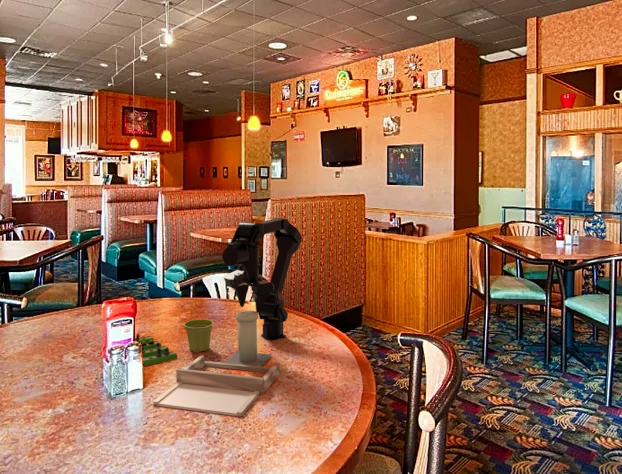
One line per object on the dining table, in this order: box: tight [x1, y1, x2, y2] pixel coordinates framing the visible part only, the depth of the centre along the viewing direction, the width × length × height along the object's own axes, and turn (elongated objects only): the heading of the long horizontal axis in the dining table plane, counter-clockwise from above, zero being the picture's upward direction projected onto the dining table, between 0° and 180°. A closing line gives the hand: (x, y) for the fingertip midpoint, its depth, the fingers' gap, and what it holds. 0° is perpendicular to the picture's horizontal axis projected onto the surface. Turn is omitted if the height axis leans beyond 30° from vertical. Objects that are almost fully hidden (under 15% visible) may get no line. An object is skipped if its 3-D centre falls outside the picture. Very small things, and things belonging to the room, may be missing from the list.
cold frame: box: [175, 355, 282, 395], centre depth 138 cm, size 15×24×4 cm, turn 76°
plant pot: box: [183, 318, 215, 353], centre depth 160 cm, size 9×9×9 cm
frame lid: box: [152, 381, 260, 418], centre depth 124 cm, size 12×23×1 cm, turn 76°
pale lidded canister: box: [235, 310, 259, 362], centre depth 150 cm, size 7×7×14 cm
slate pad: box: [224, 351, 272, 367], centre depth 150 cm, size 11×11×1 cm
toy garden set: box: [134, 333, 178, 367], centre depth 156 cm, size 23×19×5 cm
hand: (249, 309), depth 160 cm, fingers open, 9 cm apart
